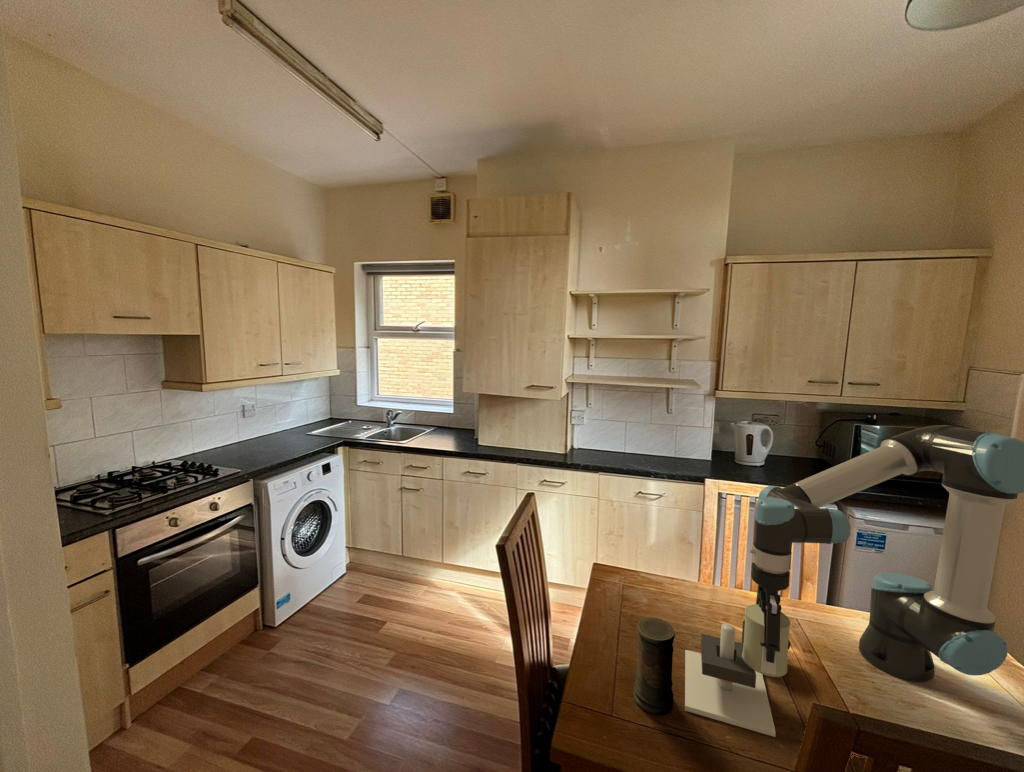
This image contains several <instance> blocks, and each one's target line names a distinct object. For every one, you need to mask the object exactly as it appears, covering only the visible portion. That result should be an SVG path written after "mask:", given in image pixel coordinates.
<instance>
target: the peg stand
mask: <svg viewBox="0 0 1024 772" xmlns="http://www.w3.org/2000/svg"><path fill="white" fill-rule="evenodd" d="M720 638H721V641H720V658H724V659H728V660H732V661H734V643H735V642H736V641H735V638H736V627H735V626H734V625H732V624H729V623H722V624H721V627H720ZM684 651H685V652H684V653H685V654H684V657H685V659H684V667H685V668H684V711H685V712H689V713H691V714H695V715H699V716H702V717H706V718H709V719H712V720H716V721H719V722H723V723H726V724H729V725H733V726H737V727H740V728H743V729H747V730H750V731H753V732H756V733H759V734H763V735H767V736H770V737H774V738H776V728H775V724H774V719H773V715H772V710H771V706H770V702H769V698H768V697H769V696H768V694H767V689H766V683H765V681H764V676H763V674H761V673H759V672H757V671H755V673H756V686H755V688H753V687H749V686H745V685H741V684H737V683H734V682H730V681H726V680H722V679H718V678H715V677H711V676H707V675H703V674H702V659H701V652H697V651H693V650H688V649H685V650H684Z"/></svg>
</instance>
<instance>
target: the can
mask: <svg viewBox="0 0 1024 772" xmlns="http://www.w3.org/2000/svg"><path fill="white" fill-rule="evenodd" d="M765 609H767V608H765ZM744 620H745V628H744V644H743V652H742V658H743V660H744V662H745V663H746V664H747V665H748V666H749V667H750V668H752V669H753V670H755V671H757V672H759V673H761V674H762V675H764V676H767V677H771V678H772V677H773V678H780V677H783V676H785V675H786V674H787V673H788V656H789V655H788V652H789V650H788V641H790V639H789V638H790V630H791V629H790V628H791V627H790V626H791V620H790V618H789V617H788V616H787V615H786V614H785V613H784V612H782V611H781V615H780V652H777V660H776V675H771V674H767V673H763V672H761V663H762V647H763V646H761V644H760V642H761V643H764V628H765V625H764V613H763V612H762V611H761V607H759V605H758V604H756V603H755V604H749V605H747V606H746V607H745V609H744Z"/></svg>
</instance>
